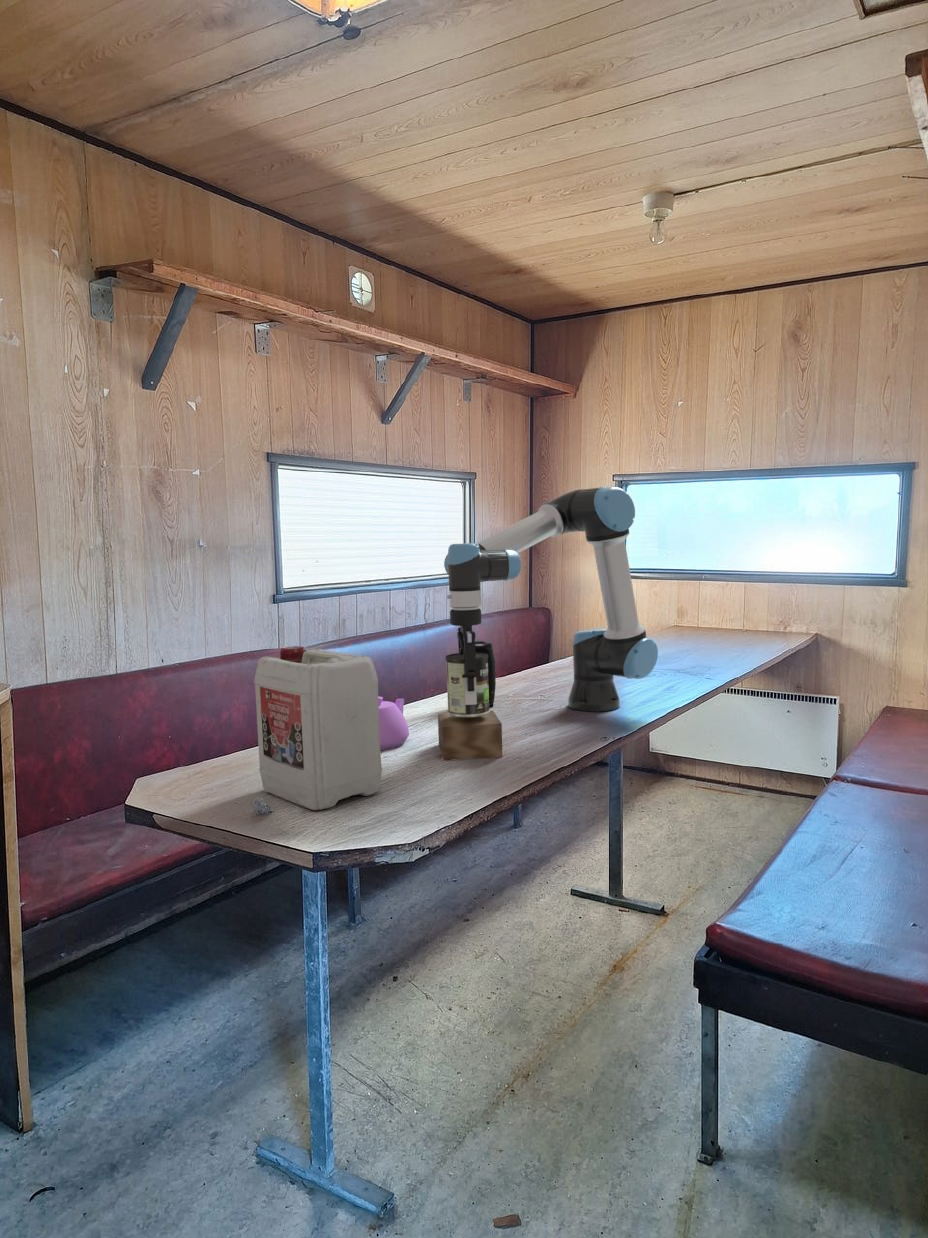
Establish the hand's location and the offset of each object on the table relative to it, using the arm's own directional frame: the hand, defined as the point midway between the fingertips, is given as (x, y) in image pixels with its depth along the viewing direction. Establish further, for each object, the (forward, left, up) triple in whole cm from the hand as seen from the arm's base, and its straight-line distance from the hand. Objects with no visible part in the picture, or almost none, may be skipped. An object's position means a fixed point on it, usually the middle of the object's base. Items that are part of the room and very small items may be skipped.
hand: (468, 699), depth 194 cm
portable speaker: (-9, -48, -13) cm, 51 cm away
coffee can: (0, 0, -4) cm, 4 cm away
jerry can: (+34, +25, -13) cm, 44 cm away
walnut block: (0, 0, -13) cm, 13 cm away
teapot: (+22, -12, -13) cm, 28 cm away
